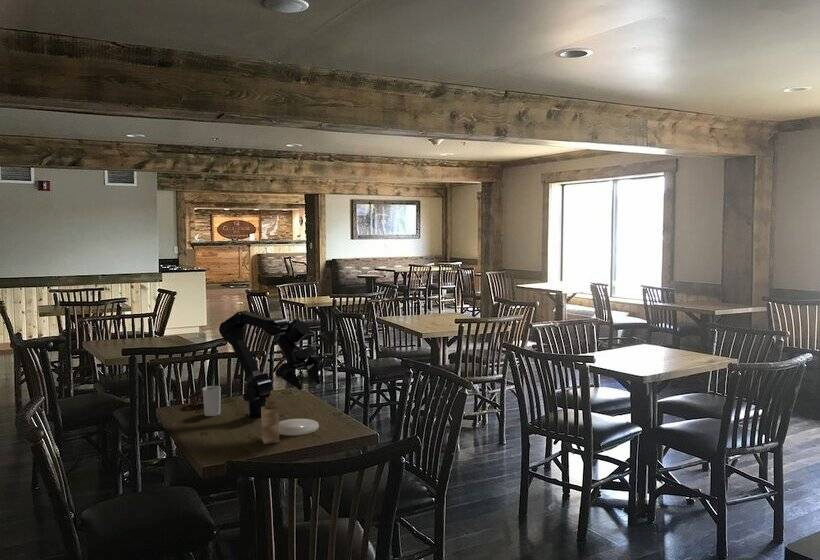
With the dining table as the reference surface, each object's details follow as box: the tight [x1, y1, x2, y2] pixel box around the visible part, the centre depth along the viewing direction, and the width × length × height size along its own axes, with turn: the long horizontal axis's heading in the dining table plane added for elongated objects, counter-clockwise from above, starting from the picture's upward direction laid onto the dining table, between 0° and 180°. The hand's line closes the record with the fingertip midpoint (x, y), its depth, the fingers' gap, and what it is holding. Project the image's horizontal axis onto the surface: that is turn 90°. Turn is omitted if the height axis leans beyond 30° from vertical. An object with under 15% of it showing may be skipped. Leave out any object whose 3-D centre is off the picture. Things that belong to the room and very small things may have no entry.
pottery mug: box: [187, 386, 205, 405], centre depth 256 cm, size 12×10×8 cm
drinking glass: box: [202, 385, 222, 417], centre depth 243 cm, size 7×7×10 cm
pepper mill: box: [260, 400, 280, 445], centre depth 212 cm, size 5×5×13 cm
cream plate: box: [279, 418, 320, 437], centre depth 225 cm, size 16×16×1 cm
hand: (310, 386), depth 225 cm, fingers open, 9 cm apart
